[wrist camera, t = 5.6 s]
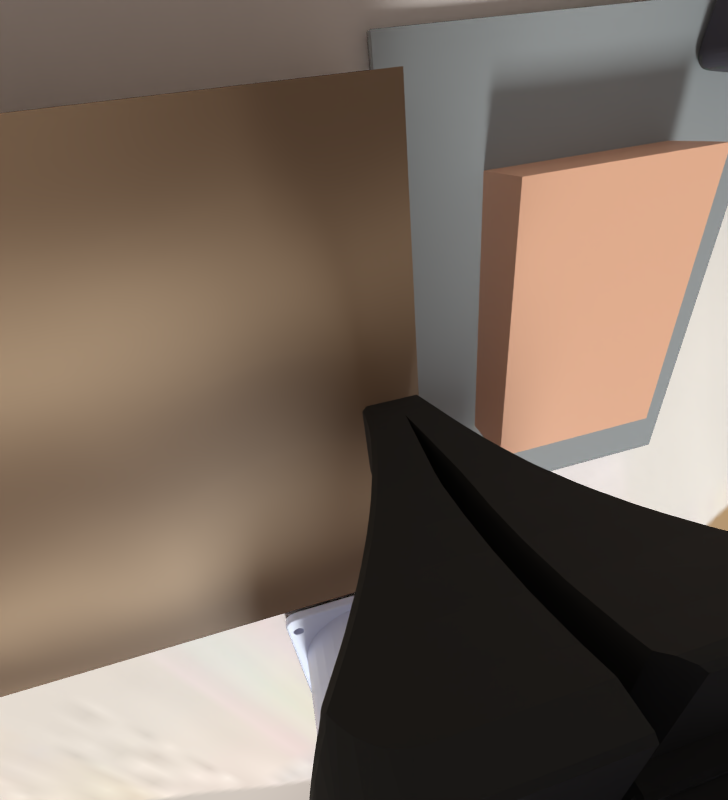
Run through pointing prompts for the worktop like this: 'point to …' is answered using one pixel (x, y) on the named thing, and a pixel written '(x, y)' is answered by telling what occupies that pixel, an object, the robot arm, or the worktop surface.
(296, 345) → the brown flat block
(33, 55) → the worktop surface
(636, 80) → the mat
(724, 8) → the calculator
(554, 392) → the peach upright slab
